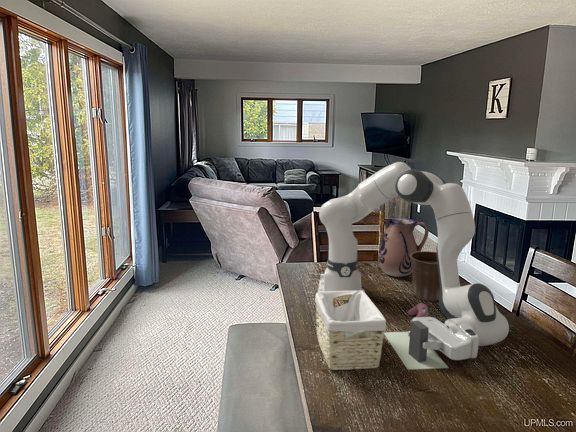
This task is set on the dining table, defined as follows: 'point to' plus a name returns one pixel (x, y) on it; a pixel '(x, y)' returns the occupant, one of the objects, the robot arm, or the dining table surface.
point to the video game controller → (419, 311)
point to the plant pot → (425, 275)
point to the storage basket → (349, 330)
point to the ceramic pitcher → (399, 246)
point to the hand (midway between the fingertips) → (415, 339)
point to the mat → (402, 349)
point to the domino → (418, 340)
